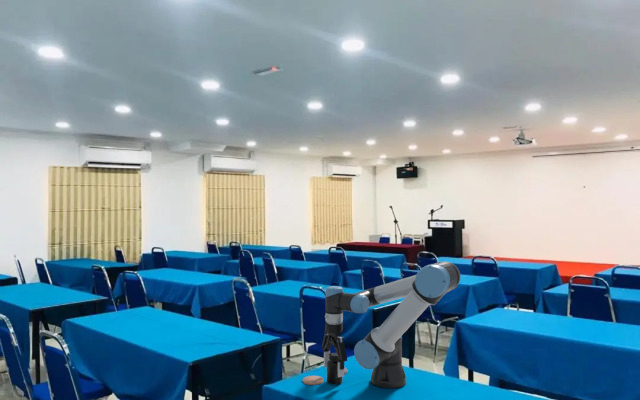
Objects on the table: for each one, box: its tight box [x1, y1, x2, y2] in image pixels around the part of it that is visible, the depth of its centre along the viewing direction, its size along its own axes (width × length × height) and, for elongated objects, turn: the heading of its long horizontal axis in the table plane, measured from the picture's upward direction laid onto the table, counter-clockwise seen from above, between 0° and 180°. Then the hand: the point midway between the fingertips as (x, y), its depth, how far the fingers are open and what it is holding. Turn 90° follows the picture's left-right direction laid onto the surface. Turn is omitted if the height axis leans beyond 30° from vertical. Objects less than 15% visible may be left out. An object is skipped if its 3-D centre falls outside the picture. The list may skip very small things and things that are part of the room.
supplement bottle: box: [326, 352, 343, 386], centre depth 211 cm, size 7×7×12 cm
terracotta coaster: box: [302, 375, 324, 386], centre depth 212 cm, size 9×9×1 cm
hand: (333, 371), depth 211 cm, fingers open, 13 cm apart
